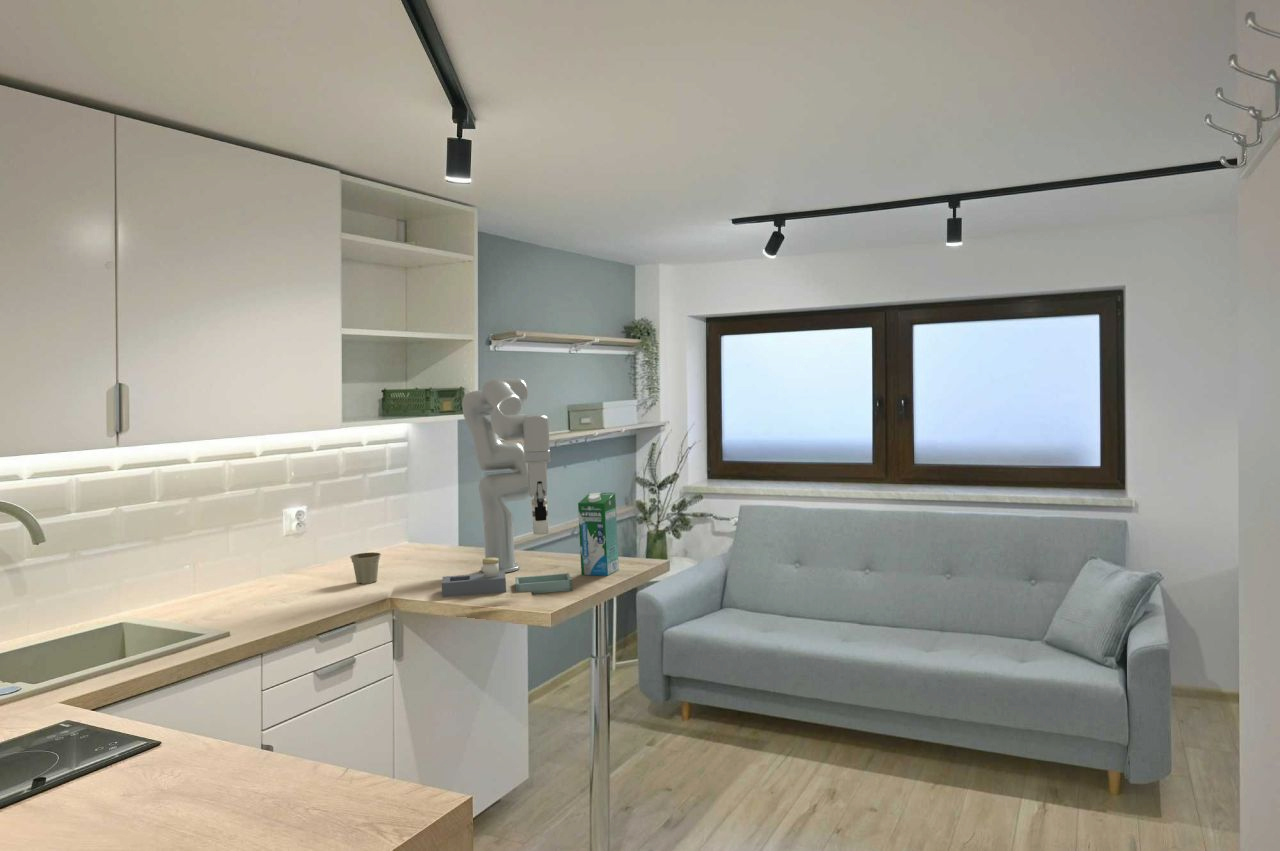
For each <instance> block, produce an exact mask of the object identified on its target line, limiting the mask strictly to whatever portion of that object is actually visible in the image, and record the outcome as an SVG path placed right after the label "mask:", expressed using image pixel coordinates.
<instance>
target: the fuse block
mask: <svg viewBox="0 0 1280 851" xmlns="http://www.w3.org/2000/svg"><path fill="white" fill-rule="evenodd" d="M498 562H499V559H498V558H485V557H484V558H483V559H482V566H483V572H482V573H476V574H475V573H474V574H473V573H472V574H461V575H450V576H442V580H441V596H442V598H450V597H453V598H454V597H463V596H464V597H465V596H474V595H475V596H477V595H487V594H489V595H490V594H500V593H501V594H502V593H507V582H506V580H507V579H506V573H505V572H499V566H498Z"/></svg>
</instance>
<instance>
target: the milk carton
mask: <svg viewBox="0 0 1280 851" xmlns="http://www.w3.org/2000/svg"><path fill="white" fill-rule="evenodd" d="M616 499H617V498H616V492H589V493H588V494H587V495H585V497H583V498H582V499H581V500H580V501H578V503H577V505H578V507H577V508H578V510H577V511H578V526H579V527H578V529H579V532H578V533H579V548H580V552H579V553H580V571H581V572H580V573H581V574H580V575H582V576H604V577H608V576H609V575H612V574H613V573H615V572H617V571H619V549H618V547H619V546H618V527H617V526H618V524H617V506H616V505H617V504H616Z"/></svg>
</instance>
